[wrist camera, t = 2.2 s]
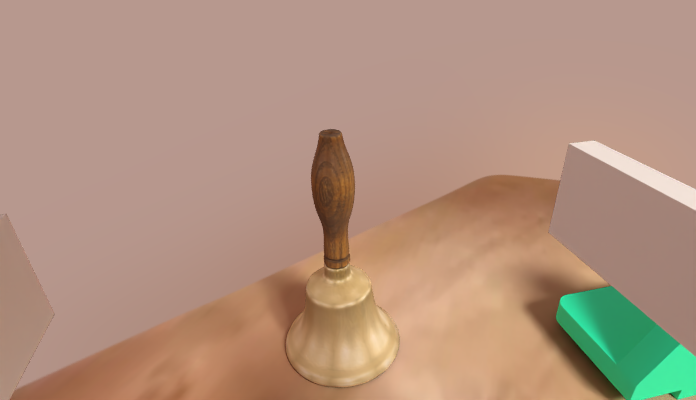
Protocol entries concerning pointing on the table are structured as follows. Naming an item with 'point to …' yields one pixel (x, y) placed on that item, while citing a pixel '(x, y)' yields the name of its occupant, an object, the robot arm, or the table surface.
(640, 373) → the camera mount
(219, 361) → the table surface
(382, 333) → the hand bell
